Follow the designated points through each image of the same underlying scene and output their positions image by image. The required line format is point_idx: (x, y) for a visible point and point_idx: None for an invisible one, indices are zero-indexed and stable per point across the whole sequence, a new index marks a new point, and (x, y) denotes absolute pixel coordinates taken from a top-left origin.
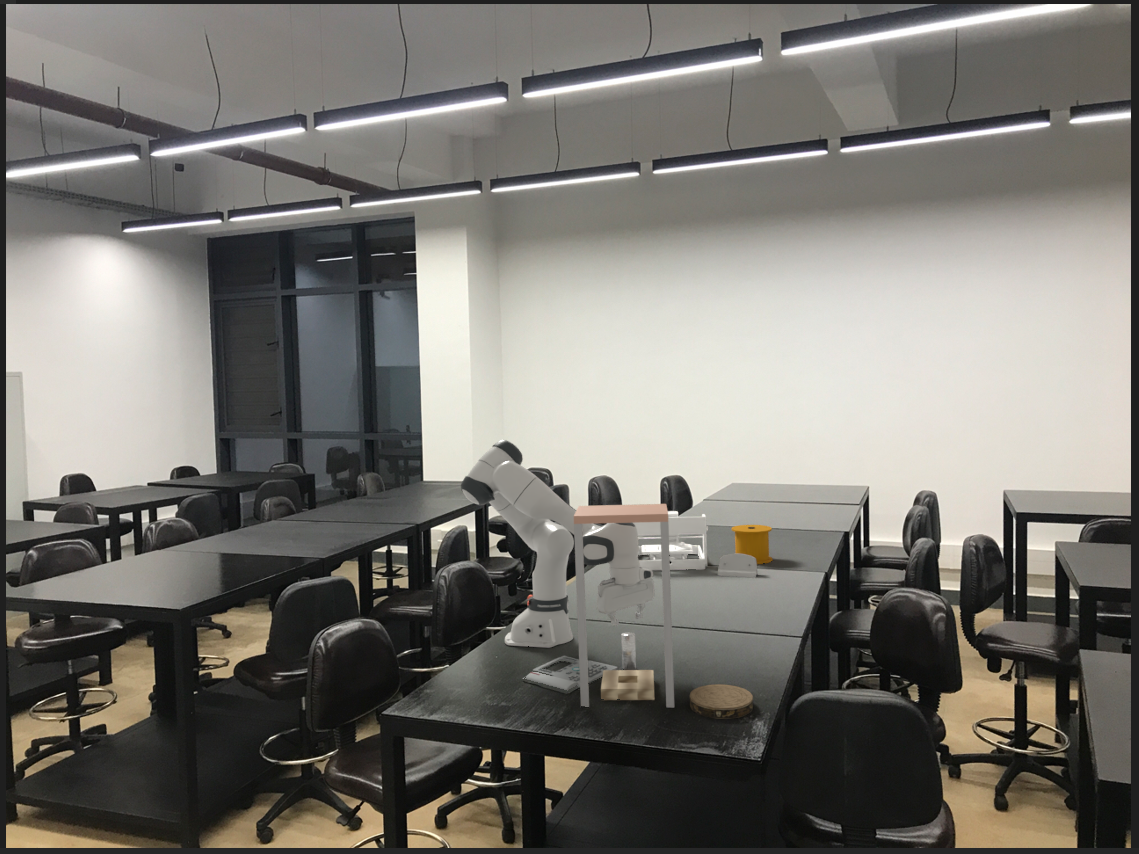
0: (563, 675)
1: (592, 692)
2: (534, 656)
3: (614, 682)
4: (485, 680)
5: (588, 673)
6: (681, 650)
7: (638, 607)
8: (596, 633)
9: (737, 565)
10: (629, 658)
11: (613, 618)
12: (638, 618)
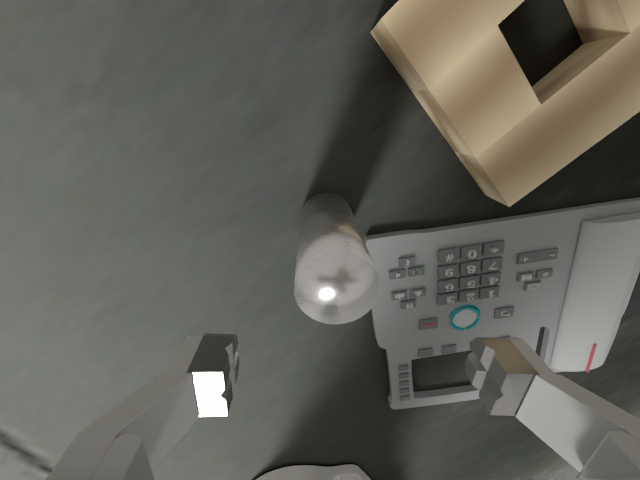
0: (527, 309)
1: (607, 141)
2: (425, 448)
3: (632, 51)
4: (629, 412)
5: (485, 263)
6: (26, 204)
7: (155, 457)
8: (183, 467)
9: None
10: (349, 213)
11: (596, 397)
12: (234, 339)
